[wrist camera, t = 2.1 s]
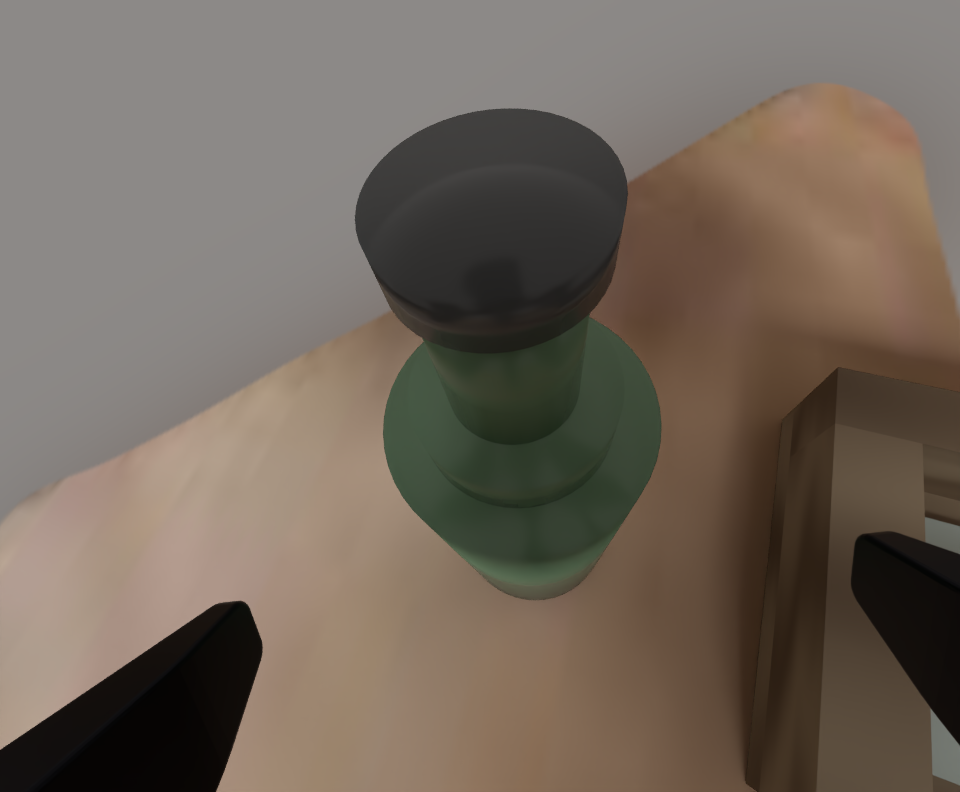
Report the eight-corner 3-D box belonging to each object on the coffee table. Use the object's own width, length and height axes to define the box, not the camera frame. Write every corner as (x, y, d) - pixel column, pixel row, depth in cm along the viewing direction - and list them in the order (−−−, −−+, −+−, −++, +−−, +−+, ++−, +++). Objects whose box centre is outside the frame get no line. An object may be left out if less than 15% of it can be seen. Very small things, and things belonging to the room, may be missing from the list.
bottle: (589, 619, 16) (780, 533, 3) (446, 576, 17) (117, 376, 4) (613, 475, 18) (790, 43, 5) (485, 446, 19) (351, 36, 6)
